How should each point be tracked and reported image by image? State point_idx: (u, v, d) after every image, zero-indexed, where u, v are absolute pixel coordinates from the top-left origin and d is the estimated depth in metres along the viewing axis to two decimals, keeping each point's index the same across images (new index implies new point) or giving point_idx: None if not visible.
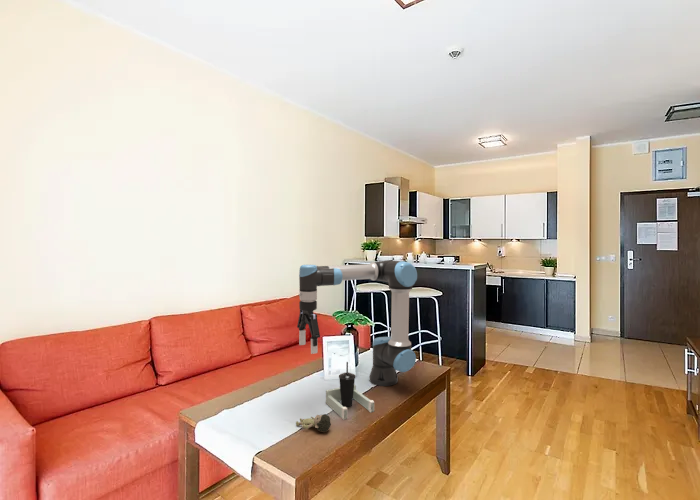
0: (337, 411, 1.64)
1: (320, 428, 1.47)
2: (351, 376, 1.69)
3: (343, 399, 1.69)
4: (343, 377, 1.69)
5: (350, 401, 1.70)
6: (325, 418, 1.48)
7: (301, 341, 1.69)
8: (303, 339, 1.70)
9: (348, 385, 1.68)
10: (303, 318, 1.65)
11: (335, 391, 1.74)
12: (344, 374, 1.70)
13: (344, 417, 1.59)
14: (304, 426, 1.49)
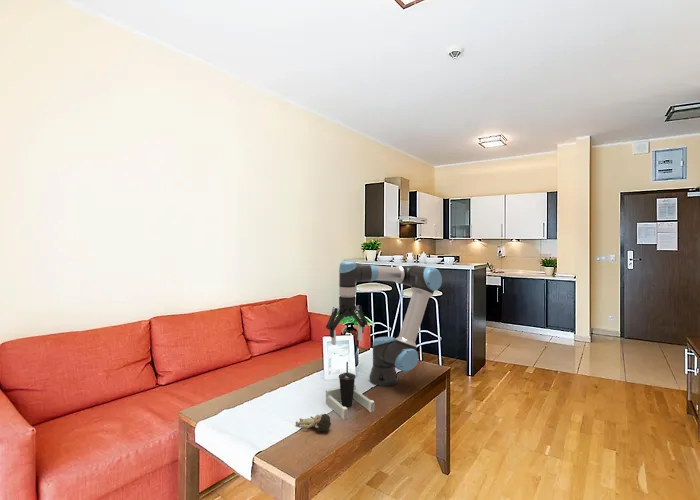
0: (337, 411, 1.64)
1: (320, 428, 1.47)
2: (351, 376, 1.69)
3: (343, 399, 1.69)
4: (343, 377, 1.69)
5: (350, 401, 1.70)
6: (325, 418, 1.48)
7: (358, 336, 1.74)
8: (359, 335, 1.73)
9: (348, 385, 1.68)
10: None
11: (335, 391, 1.74)
12: (344, 374, 1.70)
13: (344, 417, 1.59)
14: (304, 426, 1.49)
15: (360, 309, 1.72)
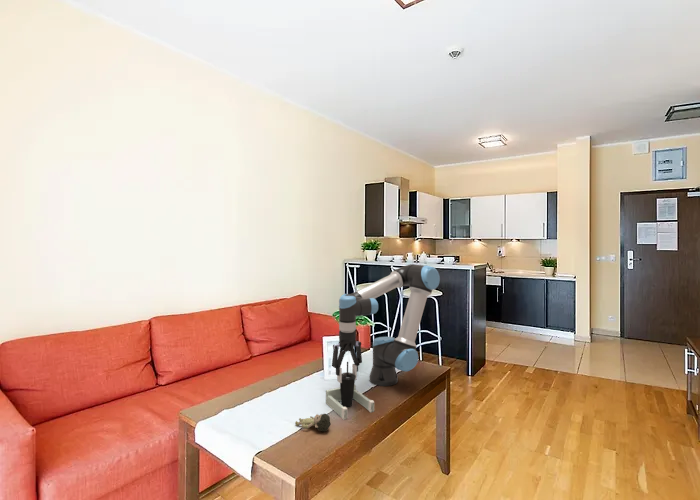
0: (337, 411, 1.64)
1: (320, 427, 1.47)
2: (351, 376, 1.69)
3: (343, 399, 1.69)
4: (343, 377, 1.69)
5: (350, 401, 1.70)
6: (325, 417, 1.48)
7: None
8: (354, 374, 1.72)
9: (348, 385, 1.68)
10: None
11: (335, 391, 1.74)
12: (344, 374, 1.70)
13: (344, 417, 1.59)
14: (304, 426, 1.49)
15: (359, 345, 1.72)
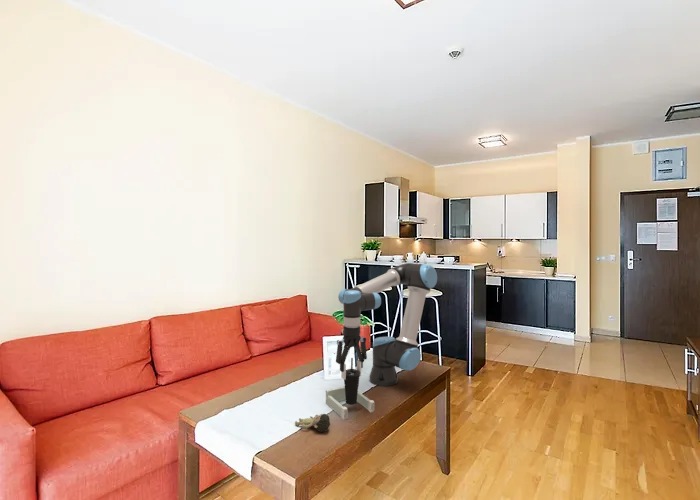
0: (337, 411, 1.64)
1: (319, 428, 1.47)
2: (356, 372, 1.66)
3: (347, 396, 1.66)
4: (348, 373, 1.65)
5: (354, 398, 1.66)
6: (324, 418, 1.48)
7: None
8: (358, 370, 1.69)
9: (352, 382, 1.64)
10: None
11: (335, 391, 1.74)
12: (349, 370, 1.67)
13: (344, 417, 1.59)
14: (303, 426, 1.49)
15: (364, 341, 1.68)
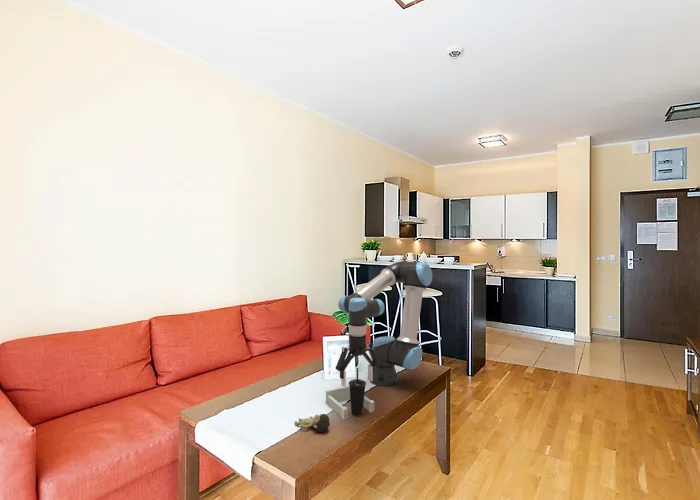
0: (337, 411, 1.64)
1: (319, 428, 1.47)
2: (362, 383, 1.62)
3: (353, 407, 1.62)
4: (353, 384, 1.61)
5: (360, 409, 1.62)
6: (324, 418, 1.48)
7: (368, 376, 1.67)
8: (369, 375, 1.66)
9: (358, 393, 1.60)
10: None
11: (335, 391, 1.74)
12: (354, 381, 1.63)
13: (344, 417, 1.59)
14: (303, 426, 1.49)
15: (370, 347, 1.65)
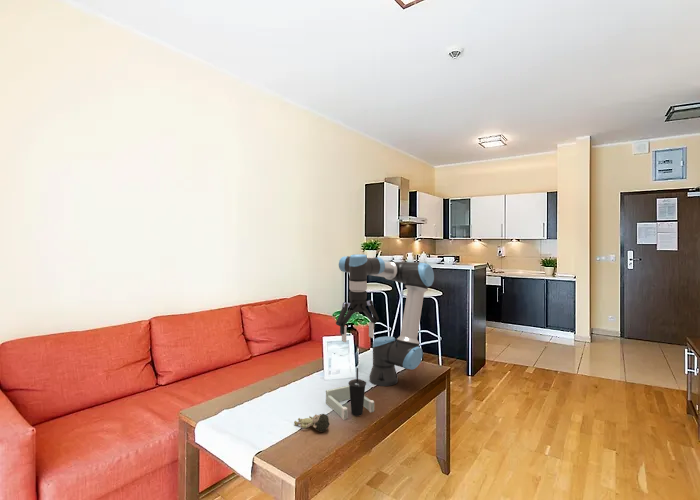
0: (337, 411, 1.64)
1: (318, 428, 1.47)
2: (361, 383, 1.62)
3: (353, 407, 1.62)
4: (353, 384, 1.61)
5: (360, 409, 1.62)
6: (323, 418, 1.48)
7: (369, 333, 1.66)
8: (370, 331, 1.65)
9: (358, 393, 1.60)
10: None
11: (335, 391, 1.74)
12: (354, 381, 1.63)
13: (344, 417, 1.59)
14: (302, 426, 1.49)
15: (371, 304, 1.64)
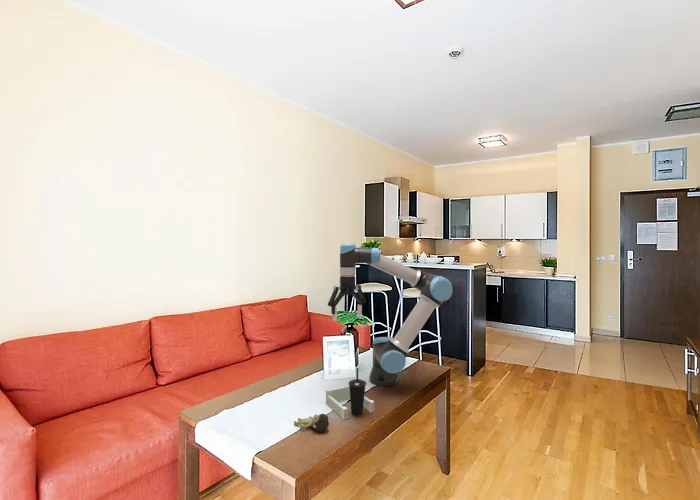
0: (337, 411, 1.64)
1: (318, 427, 1.47)
2: (362, 383, 1.62)
3: (353, 407, 1.62)
4: (353, 384, 1.61)
5: (360, 409, 1.62)
6: (323, 418, 1.48)
7: (358, 314, 1.86)
8: (359, 313, 1.85)
9: (358, 393, 1.60)
10: None
11: (335, 391, 1.74)
12: (354, 381, 1.63)
13: (344, 417, 1.59)
14: (302, 426, 1.49)
15: (359, 288, 1.84)
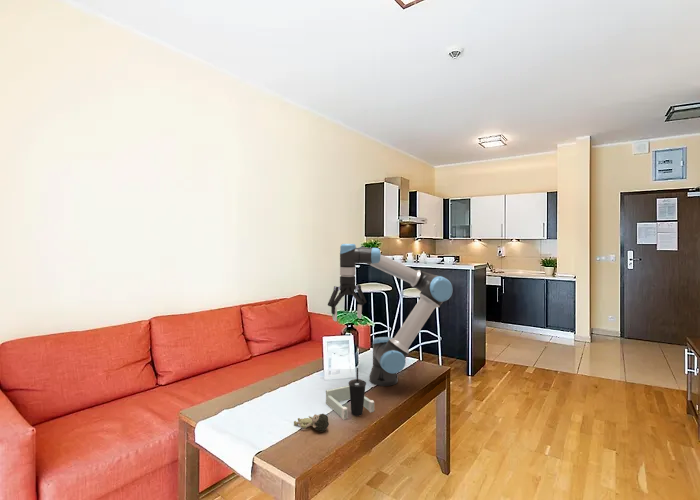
0: (337, 411, 1.64)
1: (318, 427, 1.47)
2: (362, 383, 1.62)
3: (353, 407, 1.62)
4: (353, 384, 1.61)
5: (360, 409, 1.62)
6: (323, 417, 1.48)
7: (358, 314, 1.86)
8: (359, 313, 1.85)
9: (358, 393, 1.60)
10: None
11: (335, 391, 1.74)
12: (354, 381, 1.63)
13: (344, 417, 1.59)
14: (302, 426, 1.50)
15: (359, 288, 1.84)
